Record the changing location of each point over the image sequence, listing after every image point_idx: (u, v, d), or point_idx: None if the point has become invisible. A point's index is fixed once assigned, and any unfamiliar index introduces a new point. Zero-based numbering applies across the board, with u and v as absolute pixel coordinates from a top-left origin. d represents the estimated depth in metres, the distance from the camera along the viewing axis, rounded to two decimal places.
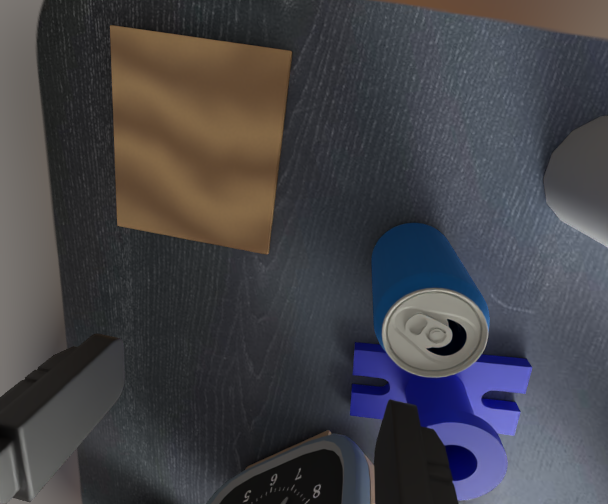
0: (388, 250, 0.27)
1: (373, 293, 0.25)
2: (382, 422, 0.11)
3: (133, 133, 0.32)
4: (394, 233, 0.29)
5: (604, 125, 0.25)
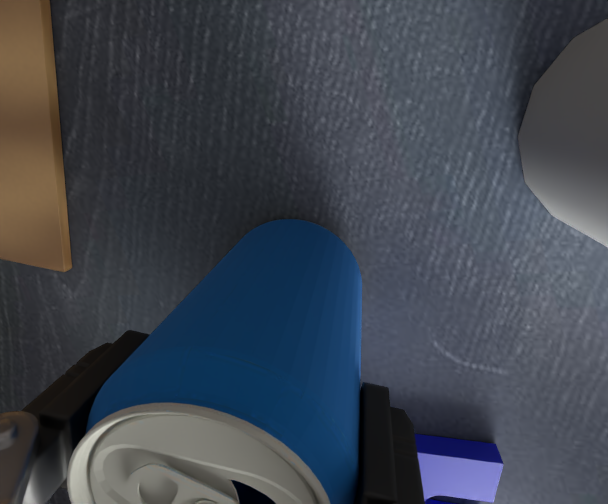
0: (209, 272, 0.14)
1: None
2: None
3: None
4: (245, 238, 0.16)
5: None
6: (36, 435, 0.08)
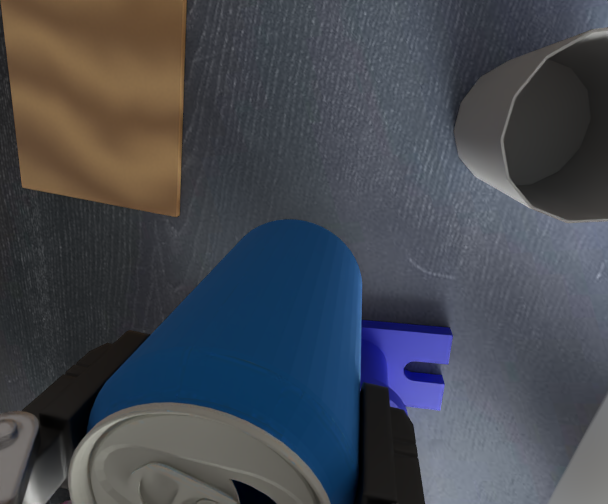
0: None
1: None
2: None
3: (30, 85, 0.30)
4: (245, 238, 0.16)
5: (504, 65, 0.23)
6: (36, 435, 0.08)
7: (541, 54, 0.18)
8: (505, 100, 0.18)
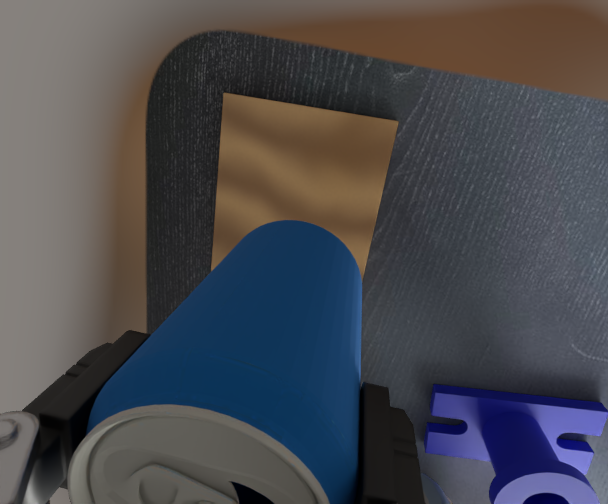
0: None
1: None
2: None
3: (236, 189, 0.33)
4: (245, 239, 0.16)
5: None
6: (36, 435, 0.08)
7: None
8: None
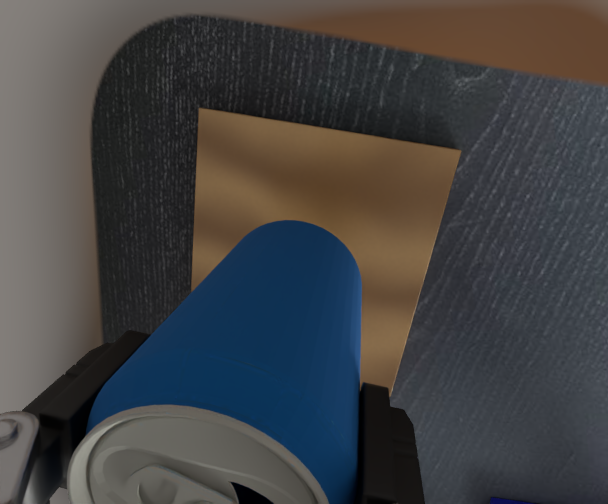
0: (209, 273, 0.14)
1: None
2: None
3: (220, 244, 0.23)
4: (245, 239, 0.16)
5: None
6: (36, 435, 0.08)
7: None
8: None
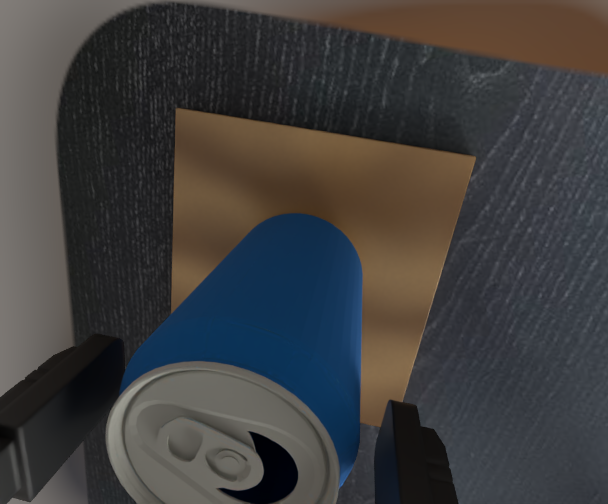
0: (222, 260, 0.15)
1: None
2: (382, 422, 0.11)
3: (202, 261, 0.21)
4: (253, 231, 0.17)
5: None
6: None
7: None
8: None
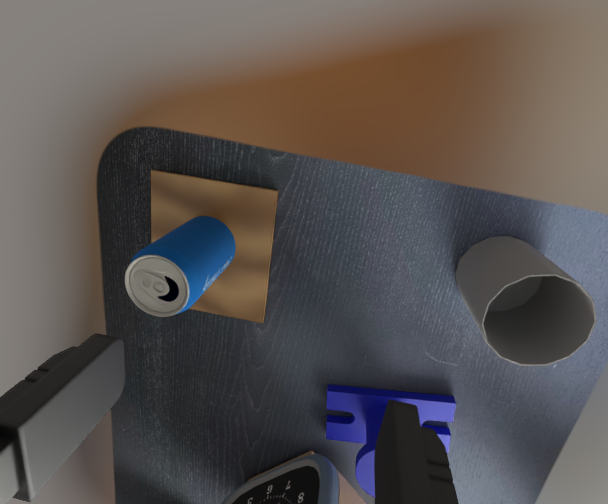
0: None
1: None
2: (382, 422, 0.11)
3: None
4: None
5: (486, 249, 0.37)
6: None
7: (504, 274, 0.32)
8: (484, 299, 0.32)
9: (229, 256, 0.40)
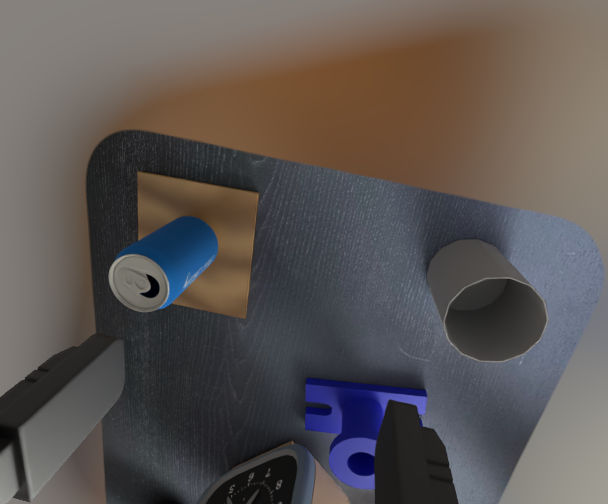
0: None
1: None
2: (382, 422, 0.11)
3: None
4: None
5: (454, 251, 0.39)
6: None
7: (465, 276, 0.34)
8: (446, 299, 0.34)
9: (211, 255, 0.42)
